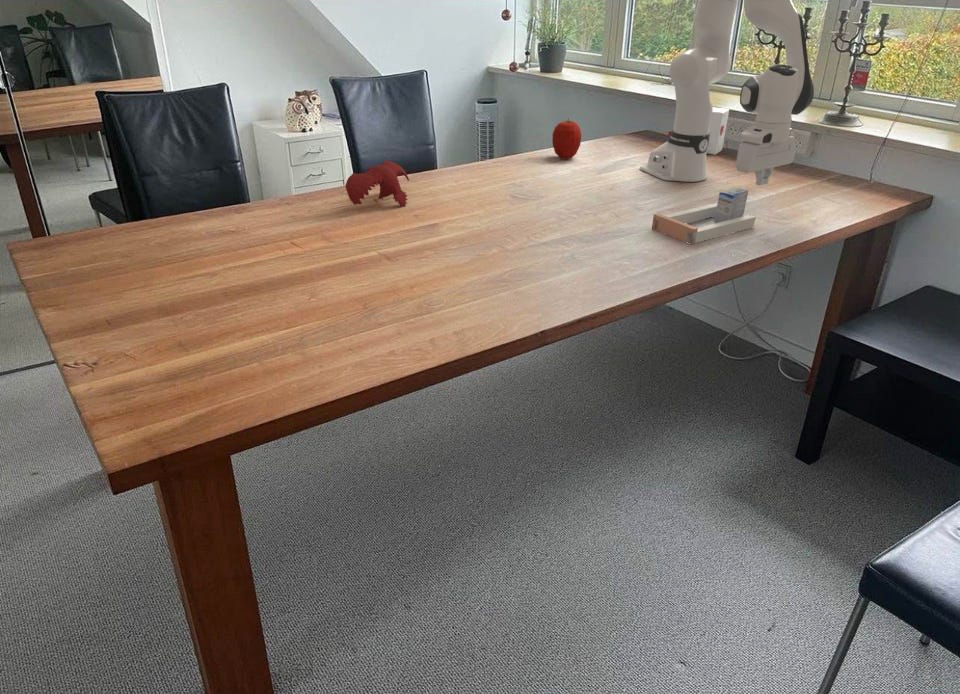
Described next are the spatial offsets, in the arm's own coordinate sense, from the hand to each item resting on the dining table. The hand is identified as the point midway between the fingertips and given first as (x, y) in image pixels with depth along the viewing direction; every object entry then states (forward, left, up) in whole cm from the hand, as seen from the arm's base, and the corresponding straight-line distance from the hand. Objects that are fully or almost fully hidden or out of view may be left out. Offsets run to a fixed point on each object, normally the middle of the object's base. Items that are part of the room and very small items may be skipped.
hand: (761, 184), depth 191 cm
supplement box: (-59, +48, -9) cm, 76 cm away
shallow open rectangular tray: (-1, -20, -9) cm, 22 cm away
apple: (-77, -5, -9) cm, 77 cm away
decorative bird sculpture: (-63, -82, -9) cm, 104 cm away
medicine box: (-1, -10, -9) cm, 14 cm away
